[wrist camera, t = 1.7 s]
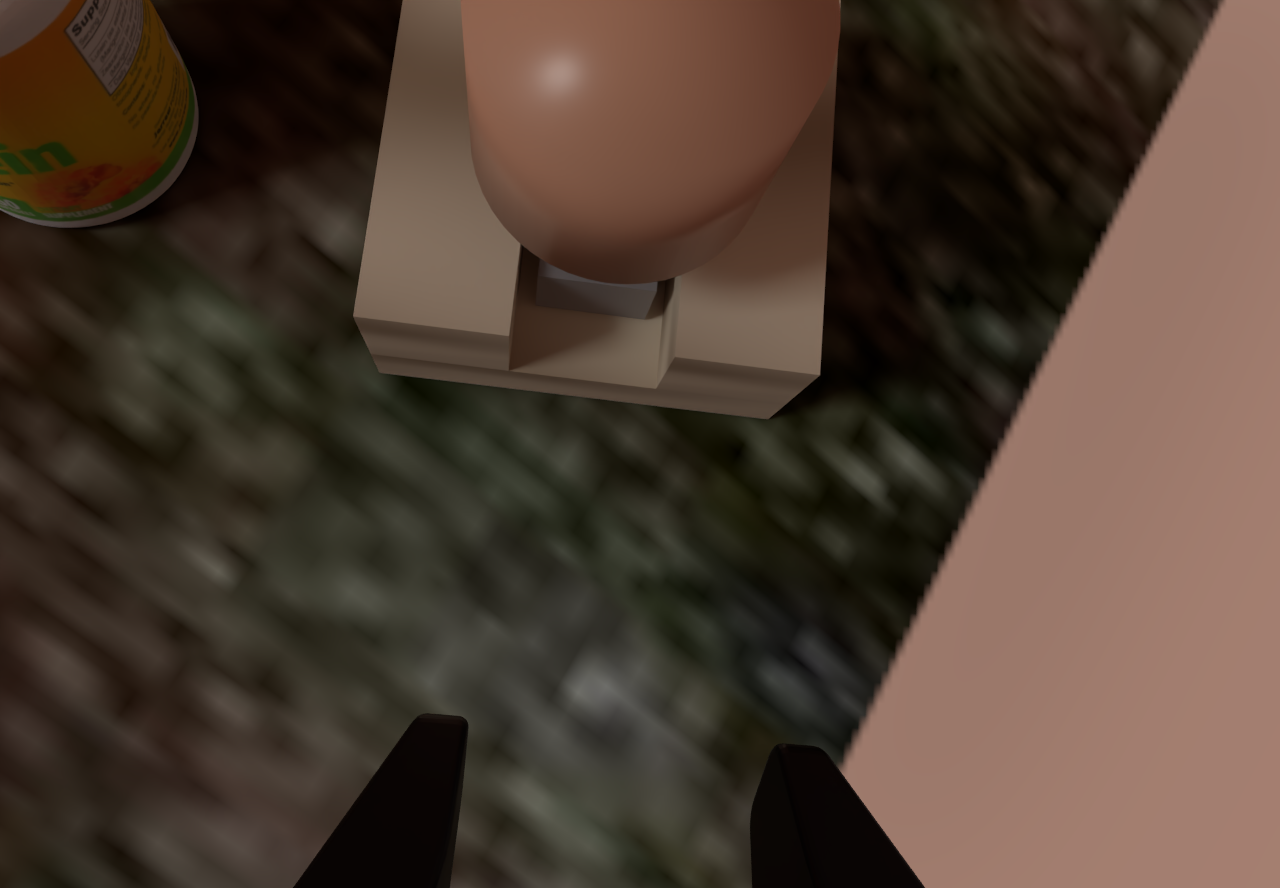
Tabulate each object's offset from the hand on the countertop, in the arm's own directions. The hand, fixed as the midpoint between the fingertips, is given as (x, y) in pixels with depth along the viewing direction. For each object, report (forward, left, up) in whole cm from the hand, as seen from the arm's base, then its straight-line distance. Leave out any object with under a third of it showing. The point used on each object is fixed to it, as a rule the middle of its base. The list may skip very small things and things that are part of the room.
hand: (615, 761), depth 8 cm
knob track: (+11, -3, -14) cm, 18 cm away
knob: (+9, -2, -12) cm, 15 cm away
